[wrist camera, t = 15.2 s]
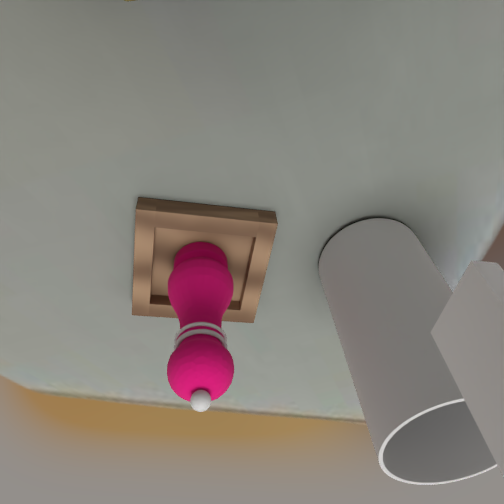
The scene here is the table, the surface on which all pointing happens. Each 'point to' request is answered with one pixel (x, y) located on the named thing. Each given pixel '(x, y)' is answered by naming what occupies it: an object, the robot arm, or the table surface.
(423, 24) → the table surface
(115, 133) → the table surface
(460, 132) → the table surface
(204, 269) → the pepper mill
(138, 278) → the walnut holder
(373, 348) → the cylinder vase
